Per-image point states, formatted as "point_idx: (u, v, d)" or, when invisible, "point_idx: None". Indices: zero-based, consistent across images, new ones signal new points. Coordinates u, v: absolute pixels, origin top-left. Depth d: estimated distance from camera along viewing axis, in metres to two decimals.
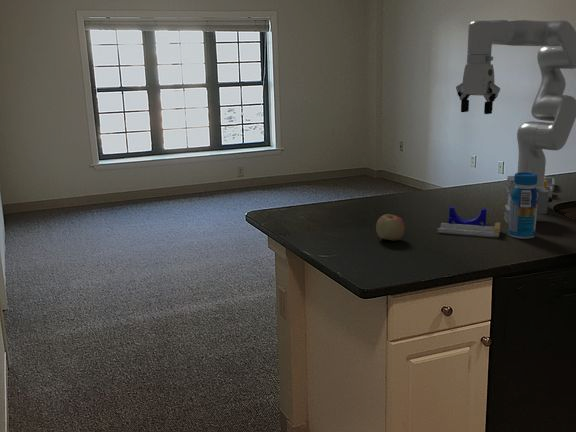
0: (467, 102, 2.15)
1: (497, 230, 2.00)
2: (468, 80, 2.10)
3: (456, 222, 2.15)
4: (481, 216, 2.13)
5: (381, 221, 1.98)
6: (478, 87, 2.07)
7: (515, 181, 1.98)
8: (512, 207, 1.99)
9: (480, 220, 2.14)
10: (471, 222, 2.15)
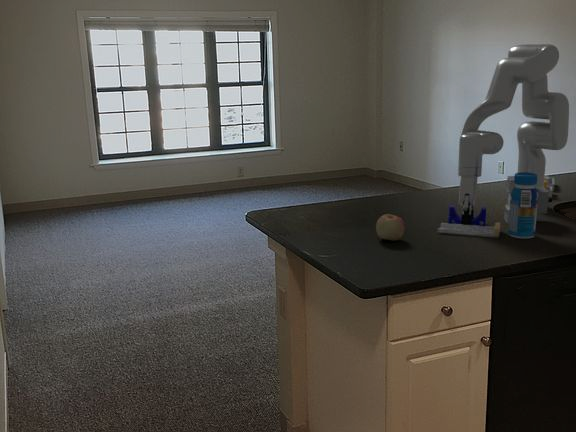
0: None
1: (497, 230, 2.00)
2: (475, 191, 2.11)
3: (456, 221, 2.16)
4: (481, 215, 2.14)
5: (381, 221, 1.98)
6: None
7: (515, 181, 1.98)
8: (512, 207, 1.99)
9: (480, 219, 2.14)
10: (471, 221, 2.16)
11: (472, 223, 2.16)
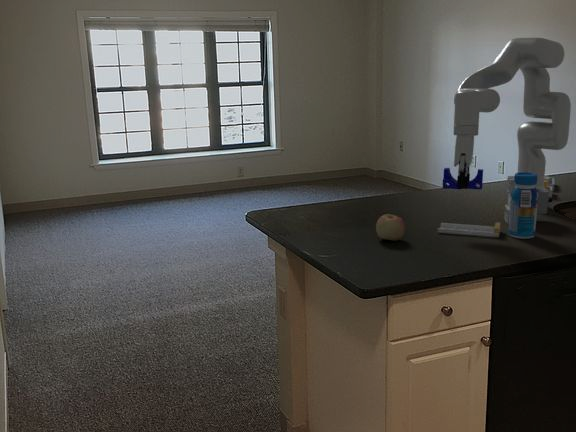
0: None
1: (497, 230, 2.00)
2: (472, 151, 1.99)
3: (450, 184, 2.04)
4: (477, 178, 2.02)
5: (381, 221, 1.98)
6: (472, 156, 2.04)
7: (515, 181, 1.98)
8: (512, 207, 1.99)
9: (476, 182, 2.02)
10: None
11: (468, 186, 2.04)
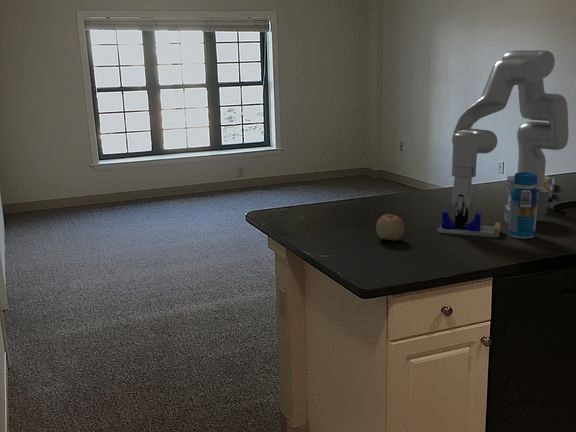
0: None
1: (497, 230, 2.00)
2: (470, 192, 2.03)
3: (449, 227, 2.08)
4: (475, 221, 2.06)
5: (381, 221, 1.98)
6: (470, 196, 2.07)
7: (515, 181, 1.98)
8: (512, 207, 1.99)
9: (474, 225, 2.06)
10: (465, 227, 2.07)
11: (466, 229, 2.07)
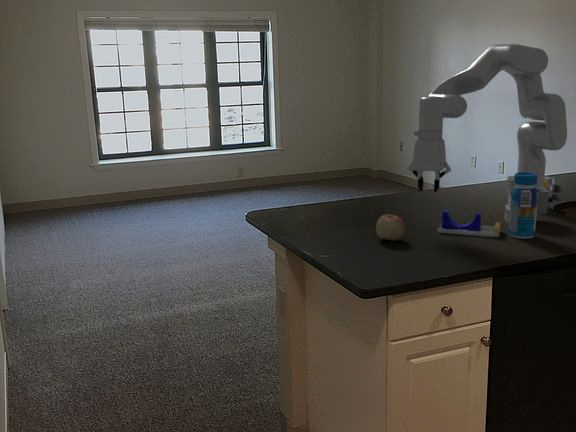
0: None
1: (497, 230, 2.00)
2: None
3: (449, 227, 2.08)
4: (475, 221, 2.06)
5: (381, 221, 1.98)
6: None
7: (515, 181, 1.98)
8: (512, 207, 1.99)
9: (474, 225, 2.06)
10: (465, 227, 2.07)
11: (466, 229, 2.07)
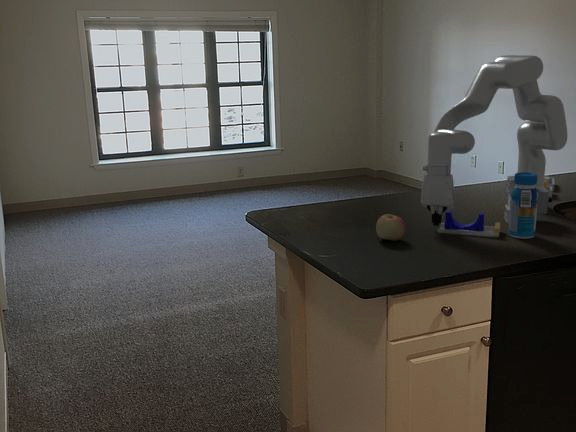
0: None
1: (497, 230, 2.00)
2: None
3: (452, 227, 2.07)
4: (478, 221, 2.05)
5: (381, 221, 1.98)
6: None
7: (515, 181, 1.98)
8: (512, 207, 1.99)
9: (477, 225, 2.06)
10: (468, 227, 2.07)
11: (469, 229, 2.07)
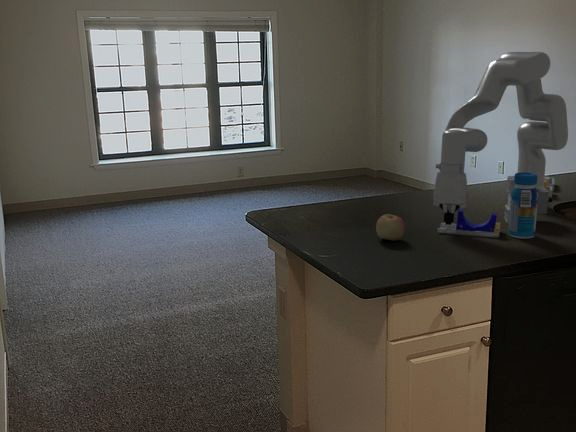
0: None
1: (497, 230, 2.00)
2: None
3: (464, 226, 2.05)
4: (491, 222, 2.04)
5: (381, 221, 1.98)
6: None
7: (515, 181, 1.98)
8: (512, 207, 1.99)
9: (489, 226, 2.04)
10: (480, 227, 2.06)
11: (481, 229, 2.06)
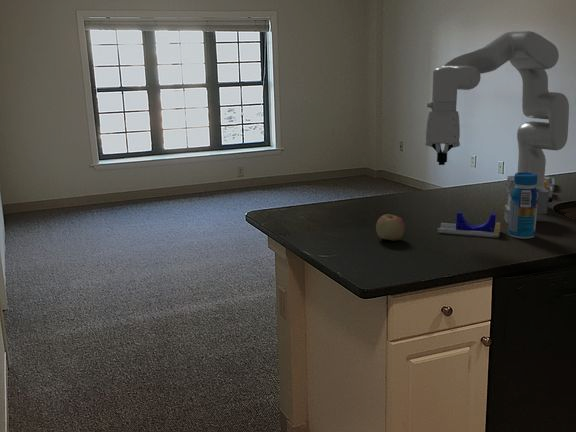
0: None
1: (497, 230, 2.00)
2: None
3: (464, 228, 2.06)
4: (490, 222, 2.04)
5: (381, 221, 1.98)
6: None
7: (515, 181, 1.98)
8: (512, 207, 1.99)
9: (489, 226, 2.05)
10: (479, 228, 2.06)
11: (481, 230, 2.06)
